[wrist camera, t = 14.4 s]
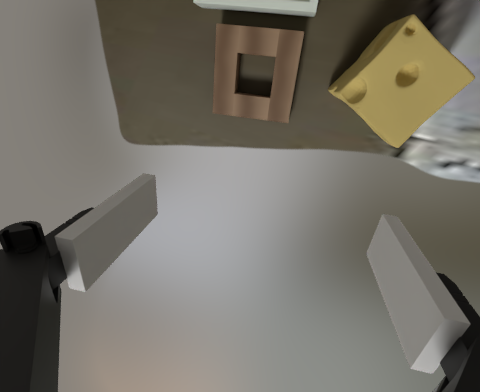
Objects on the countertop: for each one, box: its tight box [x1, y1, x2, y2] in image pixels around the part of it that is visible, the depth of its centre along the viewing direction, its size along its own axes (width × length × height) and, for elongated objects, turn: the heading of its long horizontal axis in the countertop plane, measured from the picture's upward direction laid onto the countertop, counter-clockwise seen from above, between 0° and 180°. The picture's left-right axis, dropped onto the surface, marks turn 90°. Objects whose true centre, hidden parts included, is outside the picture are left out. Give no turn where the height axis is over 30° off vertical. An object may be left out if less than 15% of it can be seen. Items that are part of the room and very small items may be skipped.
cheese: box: [328, 14, 475, 148], centre depth 33 cm, size 10×11×10 cm
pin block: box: [213, 24, 304, 123], centre depth 39 cm, size 12×12×2 cm
